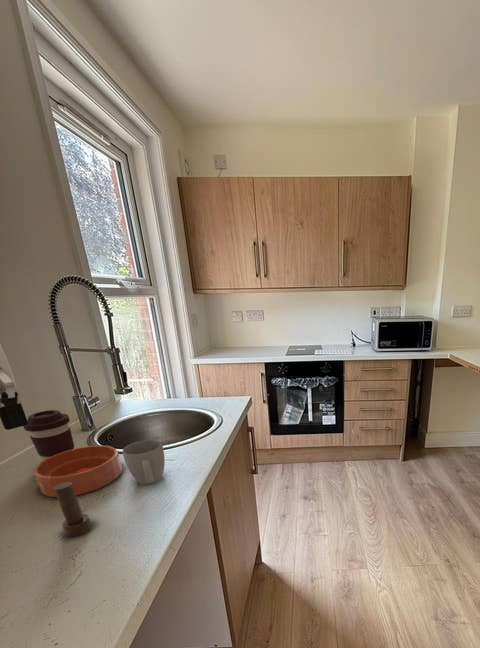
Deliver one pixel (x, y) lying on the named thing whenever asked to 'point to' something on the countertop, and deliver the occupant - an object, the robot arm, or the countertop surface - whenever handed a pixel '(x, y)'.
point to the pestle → (71, 511)
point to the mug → (145, 460)
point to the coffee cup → (50, 432)
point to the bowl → (70, 462)
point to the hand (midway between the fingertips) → (4, 422)
